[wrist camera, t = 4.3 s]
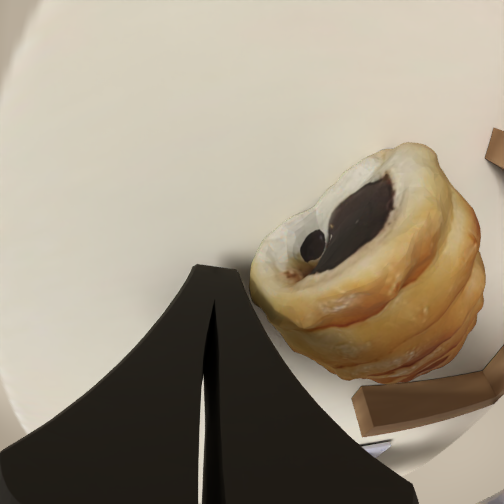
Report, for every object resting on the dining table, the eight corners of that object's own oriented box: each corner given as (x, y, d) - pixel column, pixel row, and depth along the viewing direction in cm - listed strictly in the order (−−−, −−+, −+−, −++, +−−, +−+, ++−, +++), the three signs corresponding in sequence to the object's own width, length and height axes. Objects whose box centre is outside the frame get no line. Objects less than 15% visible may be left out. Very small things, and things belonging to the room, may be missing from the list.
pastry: (476, 293, 11) (518, 351, 8) (363, 373, 13) (383, 439, 10) (396, 114, 7) (490, 151, 4) (220, 259, 9) (213, 360, 6)
